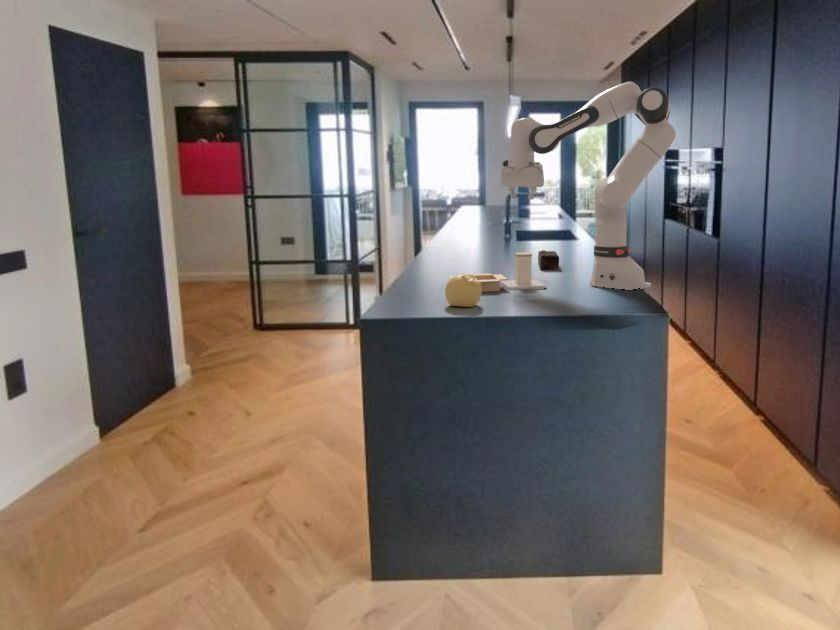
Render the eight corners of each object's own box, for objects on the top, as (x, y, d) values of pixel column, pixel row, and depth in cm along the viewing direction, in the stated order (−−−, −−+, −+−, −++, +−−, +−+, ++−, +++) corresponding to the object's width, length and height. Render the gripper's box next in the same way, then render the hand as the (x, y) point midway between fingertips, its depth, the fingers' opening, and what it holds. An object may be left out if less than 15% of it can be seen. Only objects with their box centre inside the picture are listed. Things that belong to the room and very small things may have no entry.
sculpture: (484, 308, 241) (484, 275, 239) (447, 310, 240) (447, 276, 238) (479, 301, 252) (479, 270, 250) (443, 303, 251) (443, 271, 249)
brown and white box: (514, 282, 281) (514, 253, 278) (528, 281, 281) (528, 252, 279) (517, 284, 276) (517, 254, 274) (531, 283, 277) (531, 254, 274)
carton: (446, 287, 281) (446, 275, 280) (499, 284, 283) (499, 273, 282) (453, 295, 264) (453, 282, 264) (509, 292, 266) (509, 280, 266)
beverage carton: (556, 264, 333) (556, 249, 331) (559, 271, 314) (559, 255, 313) (537, 264, 333) (538, 249, 332) (540, 271, 315) (540, 255, 313)
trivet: (500, 284, 285) (500, 280, 285) (536, 282, 286) (536, 279, 286) (508, 290, 271) (508, 287, 271) (546, 288, 273) (546, 285, 272)
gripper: (548, 161, 279) (547, 199, 282) (510, 162, 295) (510, 197, 298) (535, 162, 275) (535, 200, 278) (498, 162, 291) (498, 198, 294)
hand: (522, 198), depth 288 cm, fingers open, 8 cm apart
